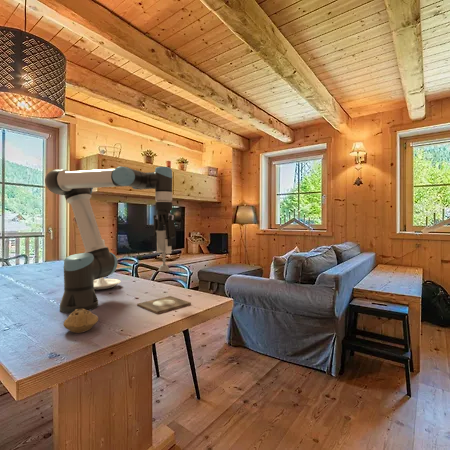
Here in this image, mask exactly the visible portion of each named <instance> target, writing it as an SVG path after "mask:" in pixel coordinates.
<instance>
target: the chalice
mask: <svg viewBox="0 0 450 450" xmlns="http://www.w3.org/2000/svg"><path fill="white" fill-rule="evenodd" d="M156 232H157V238H156V244H157V243H158V246H159V248H160V250H161V251H163V252H162V264H160V266H159V268H158V272H169V271H170V267H169V265H168V264H167V263H166V261H167V259H166V257H167V254H165V238H167V237H166V231H165V229H163V231H158V230H156Z"/></svg>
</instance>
